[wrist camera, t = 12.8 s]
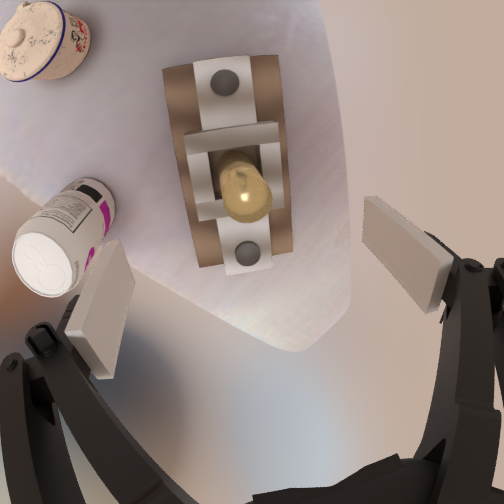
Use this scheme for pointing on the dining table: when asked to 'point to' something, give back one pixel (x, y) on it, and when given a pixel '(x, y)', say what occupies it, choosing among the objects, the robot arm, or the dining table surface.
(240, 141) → the pin insertion fixture
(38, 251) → the supplement can
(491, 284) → the robot arm
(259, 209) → the brass pin
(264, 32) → the dining table surface
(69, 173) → the dining table surface
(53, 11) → the teacup with lid
